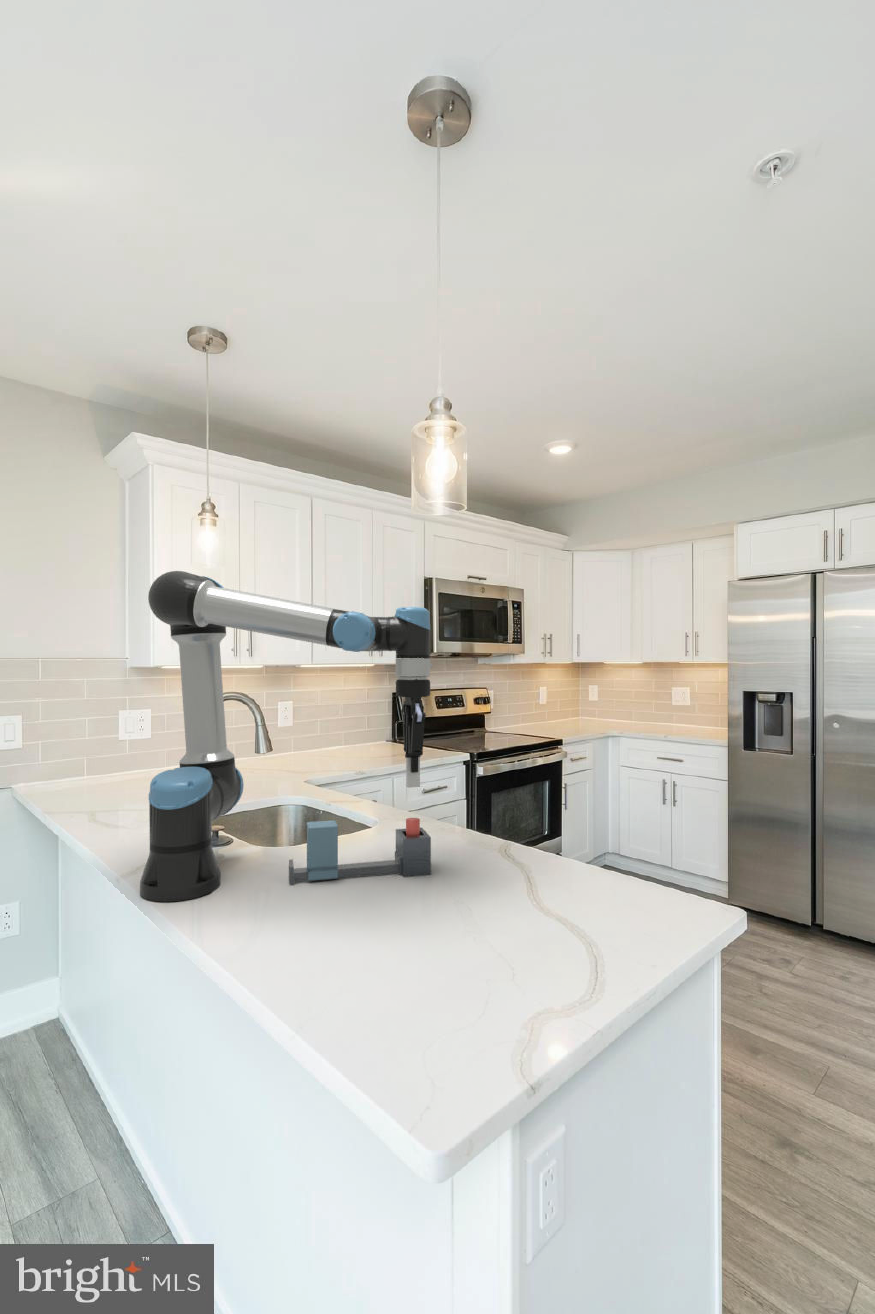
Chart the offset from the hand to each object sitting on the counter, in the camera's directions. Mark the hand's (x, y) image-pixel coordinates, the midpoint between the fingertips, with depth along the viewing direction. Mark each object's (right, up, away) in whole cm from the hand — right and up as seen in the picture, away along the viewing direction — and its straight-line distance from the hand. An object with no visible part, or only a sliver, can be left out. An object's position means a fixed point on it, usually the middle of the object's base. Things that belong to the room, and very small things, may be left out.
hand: (413, 786), depth 140 cm
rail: (-14, -18, -4) cm, 23 cm away
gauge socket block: (0, -18, 0) cm, 18 cm away
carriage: (-19, -18, -5) cm, 26 cm away
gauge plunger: (0, -13, 0) cm, 13 cm away
